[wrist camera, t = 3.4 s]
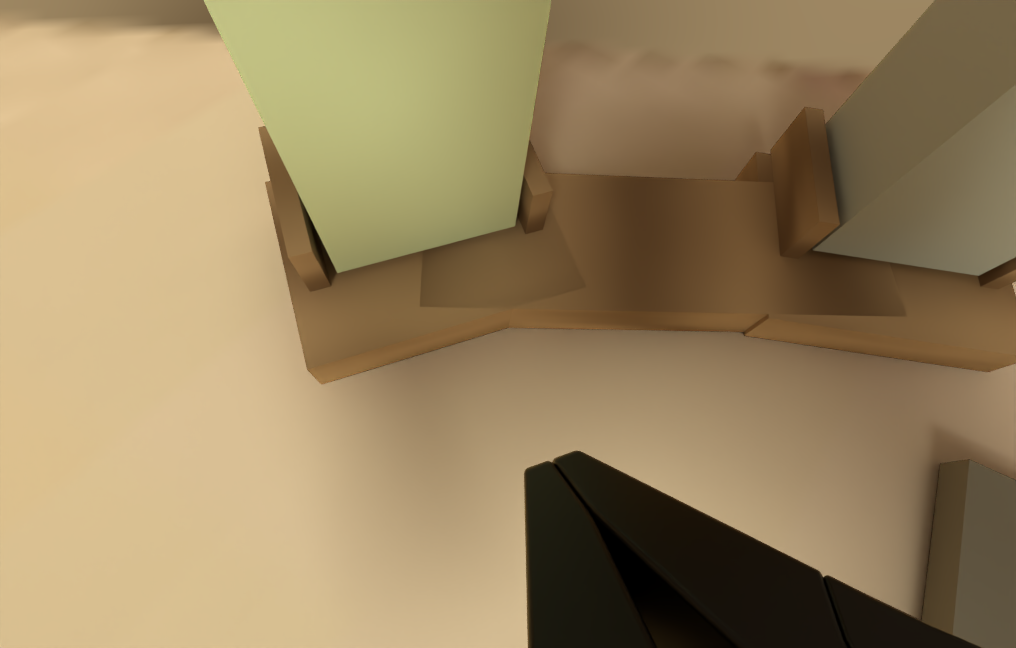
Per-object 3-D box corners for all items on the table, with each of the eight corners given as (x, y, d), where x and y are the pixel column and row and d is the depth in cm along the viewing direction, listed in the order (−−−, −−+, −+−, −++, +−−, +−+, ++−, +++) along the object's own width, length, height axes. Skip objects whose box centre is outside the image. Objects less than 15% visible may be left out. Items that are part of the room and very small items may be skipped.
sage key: (518, 228, 16) (580, -123, 7) (334, 276, 15) (158, -70, 6) (476, 126, 17) (487, -268, 9) (305, 164, 16) (127, -246, 8)
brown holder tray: (927, 165, 21) (1014, 96, 17) (1017, 373, 17) (1144, 336, 14) (289, 150, 18) (252, 69, 15) (253, 385, 15) (196, 345, 12)
